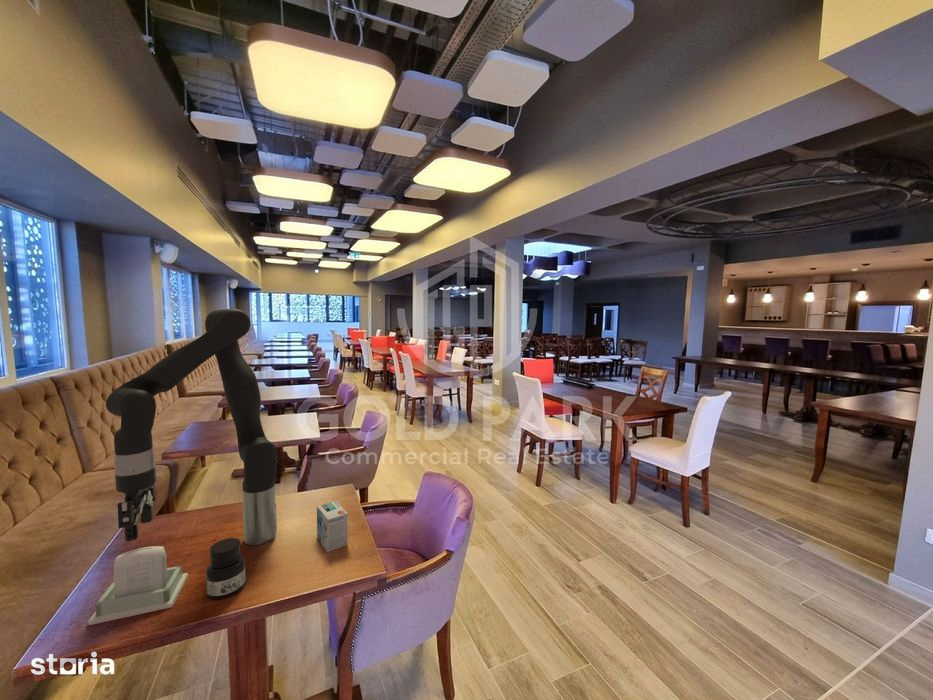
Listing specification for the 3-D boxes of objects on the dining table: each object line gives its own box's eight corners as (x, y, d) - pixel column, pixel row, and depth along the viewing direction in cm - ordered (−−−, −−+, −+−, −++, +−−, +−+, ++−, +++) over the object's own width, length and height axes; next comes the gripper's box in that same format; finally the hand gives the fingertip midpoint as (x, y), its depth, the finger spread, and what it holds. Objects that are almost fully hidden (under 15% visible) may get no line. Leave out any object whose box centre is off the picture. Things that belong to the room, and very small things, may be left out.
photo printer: (169, 583, 99) (167, 539, 98) (165, 594, 95) (163, 548, 94) (118, 596, 94) (115, 550, 93) (112, 608, 90) (109, 560, 89)
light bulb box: (316, 537, 123) (315, 505, 123) (336, 530, 128) (336, 500, 127) (327, 553, 115) (327, 519, 114) (348, 545, 119) (348, 512, 119)
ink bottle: (204, 606, 93) (203, 560, 92) (204, 585, 100) (202, 543, 99) (249, 590, 99) (248, 547, 98) (245, 572, 106) (244, 531, 105)
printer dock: (187, 576, 104) (187, 562, 103) (172, 607, 92) (171, 591, 92) (114, 590, 98) (113, 576, 97) (88, 625, 86) (87, 609, 86)
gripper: (142, 477, 87) (146, 543, 88) (164, 456, 100) (168, 513, 102) (100, 482, 84) (105, 550, 86) (129, 460, 97) (133, 519, 99)
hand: (139, 530), depth 94 cm, fingers open, 8 cm apart
